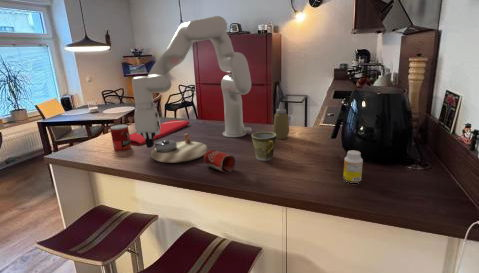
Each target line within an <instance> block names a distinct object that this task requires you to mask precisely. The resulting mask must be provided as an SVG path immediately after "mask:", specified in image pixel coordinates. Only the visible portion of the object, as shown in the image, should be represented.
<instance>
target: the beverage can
mask: <svg viewBox="0 0 479 273" xmlns="http://www.w3.org/2000/svg"><path fill="white" fill-rule="evenodd" d="M203 162H204V163H205V165H207V166H208V167H210V168H212V169H214V170H217V171H220V172H222V173H225V174H226V173H228V174H229V173H231V172H232V171H233V169H234V168H235V167H236V164H237V163H236V162H237V161H236V158H235V156H233V155H231V154H227V153H225V152H223V151H222V152H221V151H217V150H216V149H211V150H207V152H206V154H204V155H203ZM227 171H228V172H227Z"/></svg>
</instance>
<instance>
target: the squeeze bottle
mask: <svg viewBox="0 0 479 273" xmlns="http://www.w3.org/2000/svg"><path fill="white" fill-rule="evenodd" d="M275 110H276V113H274V119H273V127H272V128H273V129H272V132H273V133H275V134H276V140H284V139H288V136H289V134H290V125H289V115H288V114H287V110H286V109H285V108H284V104H283V101H282V102H281V101H280V102H279V105H278V108H277V109H275Z"/></svg>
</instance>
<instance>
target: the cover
mask: <svg viewBox="0 0 479 273" xmlns="http://www.w3.org/2000/svg"><path fill="white" fill-rule="evenodd" d="M176 142H177V141H176V140H174V139H163V140H160V141H157V142H156V143H154V145H155V148H156V152H159V153H168V152H173V151H175V150H176V149H177V143H176Z"/></svg>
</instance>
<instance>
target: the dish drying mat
mask: <svg viewBox="0 0 479 273" xmlns="http://www.w3.org/2000/svg"><path fill="white" fill-rule="evenodd" d="M189 124H190V121H188V120H183V119H182V120H181V119H180V120H179V119H170V120H167V121H164V122H162V123H161V122H160V125H161V129H160V134H158V135H155V136H154V137H153V140H154V141H155V140H157V138H158V139H159V138H162V137H164V136H167V135H170V134H171V133H174V132H176V131H179V130H180V129H182V128H184V127H186V126H188V125H189ZM148 133H149V132H148ZM129 136H130V143H131V145H133V144H134V145H135V146H139V145H140V146H142V144H143V145H144V144H145V145H146V140H145V139H144V137H143V136H142V135H139V134H137V131H135V132H133V133H129ZM134 145H133V146H134Z"/></svg>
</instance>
